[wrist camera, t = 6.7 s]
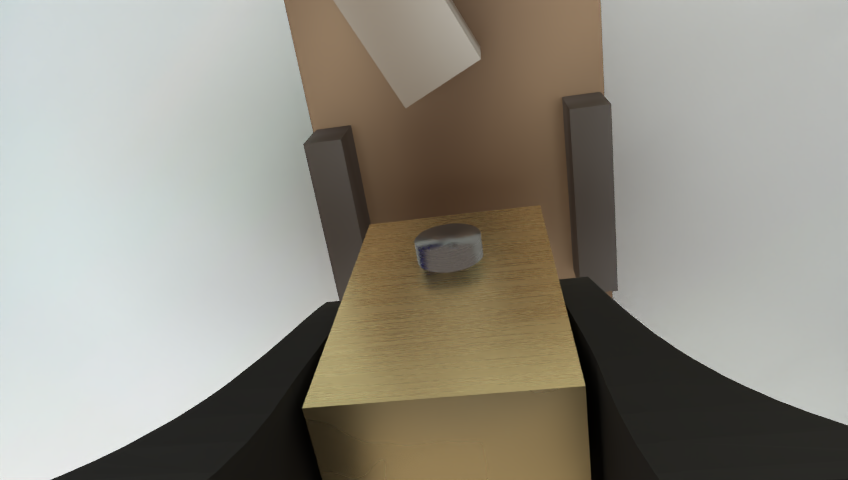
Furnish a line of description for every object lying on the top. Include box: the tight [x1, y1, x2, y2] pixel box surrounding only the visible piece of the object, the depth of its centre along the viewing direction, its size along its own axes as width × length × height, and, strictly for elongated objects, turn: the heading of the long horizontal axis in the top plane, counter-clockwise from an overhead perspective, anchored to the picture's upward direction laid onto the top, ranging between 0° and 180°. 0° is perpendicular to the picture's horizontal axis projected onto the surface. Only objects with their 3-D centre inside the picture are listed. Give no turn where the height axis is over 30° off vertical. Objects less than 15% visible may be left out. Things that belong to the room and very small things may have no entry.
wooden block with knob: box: [302, 205, 591, 480], centre depth 12 cm, size 4×4×6 cm
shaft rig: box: [284, 0, 618, 301], centre depth 18 cm, size 8×18×4 cm, turn 8°
